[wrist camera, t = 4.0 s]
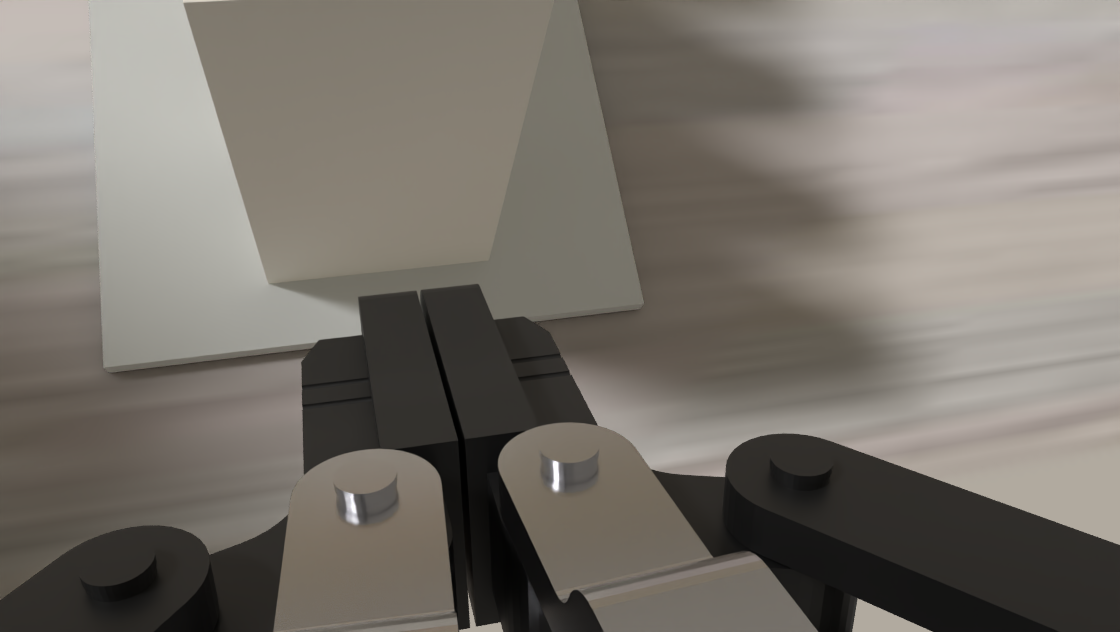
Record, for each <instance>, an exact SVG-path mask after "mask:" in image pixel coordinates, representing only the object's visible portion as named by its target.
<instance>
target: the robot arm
mask: <svg viewBox="0 0 1120 632" xmlns="http://www.w3.org/2000/svg"><path fill="white" fill-rule="evenodd" d="M358 304H359V314H360V323H361V332H362V335H357V336H348V337H340V338H331V339H322V340H318V342H317V343H316V344H315V345H314V347H313V348H312V349H311V351H310V352H309V353H308V354H307V356H306V357H305V358H304V360H303V361H302V362H301V365H302V406H303V410H302V411H303V456H304V476H303V477H302V478H301V479H300V480H299V481H298V482H297V484H296V486H295V487H294V489H293V491H292V495H291V498H290V506H289V513H288V515H287V516H286V517H285V518H284V519H283V520H281V521H280V522H279V523H278V524H276V525H275V526H274V527H272V528H271V529H269V530H268V531H266V532H264V533H262V534H260V535H258V536H257V537H255V538H253V539H250V540H248V541H245V542H243V543H241V544H238V545H235V546H233V547H230V548H227V549H224V550H222V551H219V552H216V553H214V554H211V555H209V553H208V551H207V549H206V546H205V545H204V544H203V543H202V541H201V540H200V539H199V538H197V537H196V536H194V535H193V534H191V533H189V532H187V531H184V530H182V529H177V528H173V527H167V526H139V527H130V528H126V529H121V530H116V531H113V532H110V533H106V534H103V535H100V536H98V537H95V538H93V539H90V540H88V541H86V542H84V543H82V544H80V545H78V546H76V547H74V548H73V549H71V550H69V551H68V552H66V553H65V554H63V555H62V556H60V557H59V558H58V559H56V560H55V561H53V562H52V563H51V564H49V565H48V566H47V567H45V568H44V569H43V570H41V571H40V572H38V573H37V574H36V575H34V576H33V577H32V578H30V579H29V580H28V581H26V582H25V583H23V584H22V585H21V586H19V587H18V588H17V589H15V590H14V591H13V592H11V593H10V594H8V595H7V596H6V597H4V598H3V599H2V600H0V632H459V630H461V629H467V628H470V620H469V604H468V593H469V598H470V602H471V606H472V610H473V615H474V619H475V623H476V626H482V625H487V624H493V623H498V622H501V625H502V629H503V632H852V629H853V622H854V616H855V610H856V604H857V598H858V599H861V600H863V601H865V602H867V603H870V604H872V605H874V606H876V607H879V608H881V609H883V610H886V611H888V612H890V613H892V614H894V615H897V616H899V617H901V618H904V619H906V620H908V621H910V622H912V623H915V624H917V625H919V626H921V627H923V628H926V629H928V630H930V631H933V632H1120V545H1118V544H1115V543H1112V542H1109V541H1107V540H1104V539H1101V538H1098V537H1095V536H1093V535H1090V534H1087V533H1084V532H1081V531H1079V530H1076V529H1073V528H1070V527H1067V526H1065V525H1062V524H1059V523H1056V522H1054V521H1051V520H1048V519H1045V518H1043V517H1040V516H1037V515H1034V514H1031V513H1028V512H1026V511H1023V510H1020V509H1018V508H1015V507H1012V506H1009V505H1006V504H1003V503H1001V502H998V501H995V500H992V499H990V498H987V497H984V496H981V495H978V494H976V493H973V492H970V491H967V490H965V489H962V488H959V487H956V486H953V485H951V484H948V483H945V482H942V481H940V480H937V479H934V478H931V477H928V476H926V475H923V474H920V473H917V472H915V471H912V470H909V469H906V468H903V467H901V466H898V465H895V464H892V463H889V462H887V461H884V460H881V459H878V458H876V457H873V456H870V455H867V454H864V453H862V452H859V451H856V450H853V449H850V448H848V447H845V446H842V445H839V444H837V443H834V442H831V441H828V440H825V439H821V438H817V437H813V436H808V435H800V434H771V435H765V436H760V437H757V438H754V439H751V440H748V441H746V442H744V443H742V444H741V445H739V446H738V447H737V448H735V449H734V450H733V452H732V453H731V454H730V456H729V458H728V460H727V464H726V473H725V477H711V476H693V475H679V474H669V473H664V472H659V471H655V470H651V469H650V468H649V466H648V465H647V463H646V462H645V461H644V459H643V458H642V456H641V455H640V454H639V452H638V451H637V449H636V448H635V447H634V446H633V445H632V443H631V442H630V441H628V440H627V439H626V438H625V437H623V436H622V435H620V434H618V433H616V432H614V431H612V430H609V429H607V428H604V427H600V426H598V425H597V423H596V421H595V419H594V417H593V415H592V413H591V411H590V410H589V408H588V406H587V404H586V402H585V400H584V398H583V396H582V394H581V392H580V390H579V388H578V386H577V385H576V383H575V381H574V379H573V377H572V375H570V373H569V369H568V367H567V365H566V363H565V361H564V360H563V358H561V356H560V352H559V350H558V348H557V346H556V344H555V342H554V340H553V338H552V336H551V335H550V333H549V332H548V331H546V330H545V329H543V328H542V327H540V326H538V325H537V324H535V323H534V322H532V321H531V320H529V319H527V318H526V317H524V316H521V317H513V318H504V319H495V320H494V319H493V317H492V314H491V312H490V310H489V307H488V305H487V302H486V300H485V298H484V295H483V293H482V290H481V288H480V286H479V284H471V285H461V286H452V287H442V288H433V289H424V290H421V291H420V301H419V298H418V294H417V291H406V292H397V293H388V294H378V295H369V296H359V297H358Z"/></svg>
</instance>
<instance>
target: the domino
mask: <svg viewBox="0 0 1120 632" xmlns="http://www.w3.org/2000/svg"><path fill="white" fill-rule="evenodd" d="M553 3H554V0H183V4H184V8H185V11H186V14H187V17H188V21H189V24H190V27H191V31H192V34H193V37H194V41H195V44H196V47H197V51H198V54H199V57H200V60H201V64H202V67H203V70H204V74H205V77H206V80H207V84H208V87H209V90H210V93H211V97H212V100H213V103H214V107H215V110H216V113H217V117H218V120H219V123H220V126H221V130H222V133H223V136H224V140H225V143H226V146H227V150H228V153H229V156H230V159H231V163H232V166H233V169H234V173H235V176H236V179H237V183H238V186H239V189H240V192H241V196H242V199H243V202H244V206H245V209H246V212H247V216H248V219H249V222H250V225H251V229H252V232H253V235H254V239H255V242H256V245H257V249H258V252H259V255H260V258H261V262H262V265H263V268H264V272H265V275H266V278H267V282H268V284H271V283H281V282H290V281H300V280H309V279H319V278H328V277H337V276H347V275H356V274H366V273H375V272H385V271H394V270H404V269H413V268H423V267H432V266H442V265H451V264H460V263H470V262H479V261H489V258H490V254H491V250H492V246H493V242H494V238H495V234H496V230H497V226H498V222H499V218H500V214H501V210H502V206H503V202H504V198H505V194H506V190H507V186H508V182H509V178H510V174H511V170H512V166H513V162H514V158H515V154H516V150H517V146H518V142H519V138H520V134H521V130H522V126H523V122H524V118H525V114H526V110H527V106H528V102H529V98H530V94H531V90H532V86H533V83H534V79H535V75H536V71H537V67H538V63H539V59H540V55H541V51H542V47H543V43H544V39H545V35H546V31H547V27H548V23H549V19H550V15H551V11H552V7H553Z"/></svg>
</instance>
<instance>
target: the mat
mask: <svg viewBox="0 0 1120 632" xmlns="http://www.w3.org/2000/svg"><path fill="white" fill-rule="evenodd" d="M89 22H90V47H91V72H92V97H93V122H94V147H95V172H96V197H97V222H98V247H99V272H100V297H101V322H102V347H103V368H104V369H105V370H106V371H107V372H108V373H112V372H120V371H129V370H137V369H145V368H154V367H162V366H170V365H179V364H187V363H195V362H203V361H212V360H220V359H228V358H237V357H245V356H253V355H262V354H270V353H278V352H287V351H295V350H303V349H312V348H313V347H314V345H315V344H316V343H317V342H318V340H322V339H331V338H340V337H348V336H357V335H362V332H361V323H360V314H359V304H358V297H359V296H369V295H378V294H388V293H397V292H406V291H417V294H418V298H419V301H420V291H421V290H424V289H433V288H442V287H452V286H461V285H471V284H479V286H480V288H481V290H482V293H483V295H484V298H485V300H486V302H487V305H488V307H489V310H490V312H491V314H492V317H493V319H494V320H495V319H504V318H513V317H521V316H524V317H526V318H527V319H529V320H531V321H532V322H536V321H544V320H553V319H561V318H569V317H578V316H586V315H594V314H603V313H611V312H619V311H628V310H636V309H640V308H641V307H642V306H643V304H644V300H643V296H642V291H641V286H640V282H639V277H638V273H637V268H636V264H635V259H634V255H633V250H632V245H631V241H630V236H629V232H628V227H627V223H626V218H625V214H624V209H623V205H622V200H621V195H620V191H619V186H618V182H617V177H616V173H615V168H614V164H613V159H612V155H611V150H610V145H609V141H608V136H607V132H606V127H605V123H604V118H603V114H602V109H601V105H600V100H599V95H598V91H597V86H596V82H595V77H594V73H593V68H592V64H591V59H590V54H589V50H588V45H587V41H586V36H585V32H584V27H583V23H582V18H581V14H580V9H579V4H578V0H554V3H553V7H552V11H551V15H550V19H549V23H548V27H547V31H546V35H545V39H544V43H543V47H542V51H541V55H540V59H539V63H538V67H537V71H536V75H535V79H534V83H533V86H532V90H531V94H530V98H529V102H528V106H527V110H526V114H525V118H524V122H523V126H522V130H521V134H520V138H519V142H518V146H517V150H516V154H515V158H514V162H513V166H512V170H511V174H510V178H509V182H508V186H507V190H506V194H505V198H504V202H503V206H502V210H501V214H500V218H499V222H498V226H497V230H496V234H495V238H494V242H493V246H492V250H491V254H490V258H489V261H479V262H470V263H460V264H451V265H442V266H432V267H423V268H413V269H404V270H394V271H385V272H375V273H366V274H356V275H347V276H337V277H328V278H319V279H309V280H300V281H290V282H281V283H271V284H268V282H267V278H266V275H265V272H264V268H263V265H262V262H261V258H260V255H259V252H258V249H257V245H256V242H255V239H254V235H253V232H252V229H251V225H250V222H249V219H248V216H247V212H246V209H245V206H244V202H243V199H242V196H241V192H240V189H239V186H238V183H237V179H236V176H235V173H234V169H233V166H232V163H231V159H230V156H229V153H228V150H227V146H226V143H225V140H224V136H223V133H222V130H221V126H220V123H219V120H218V117H217V113H216V110H215V107H214V103H213V100H212V97H211V93H210V90H209V87H208V84H207V80H206V77H205V74H204V70H203V67H202V64H201V60H200V57H199V54H198V51H197V47H196V44H195V41H194V37H193V34H192V31H191V27H190V24H189V21H188V17H187V14H186V11H185V8H184V4H183V0H89Z"/></svg>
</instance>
